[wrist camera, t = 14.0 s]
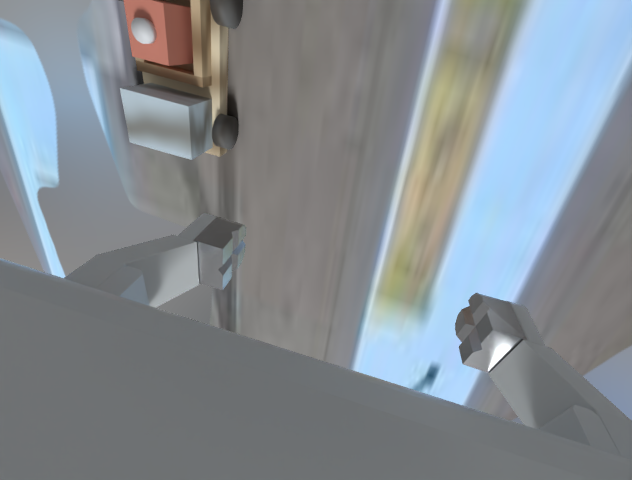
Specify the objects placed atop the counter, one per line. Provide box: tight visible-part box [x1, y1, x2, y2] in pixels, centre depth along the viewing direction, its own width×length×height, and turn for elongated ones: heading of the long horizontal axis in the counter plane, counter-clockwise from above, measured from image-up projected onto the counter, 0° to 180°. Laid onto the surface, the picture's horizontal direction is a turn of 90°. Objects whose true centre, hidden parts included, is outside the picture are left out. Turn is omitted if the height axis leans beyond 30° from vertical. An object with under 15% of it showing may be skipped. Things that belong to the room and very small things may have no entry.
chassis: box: [120, 0, 243, 160], centre depth 33 cm, size 20×13×7 cm, turn 169°
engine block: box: [124, 0, 193, 66], centre depth 30 cm, size 5×4×6 cm
